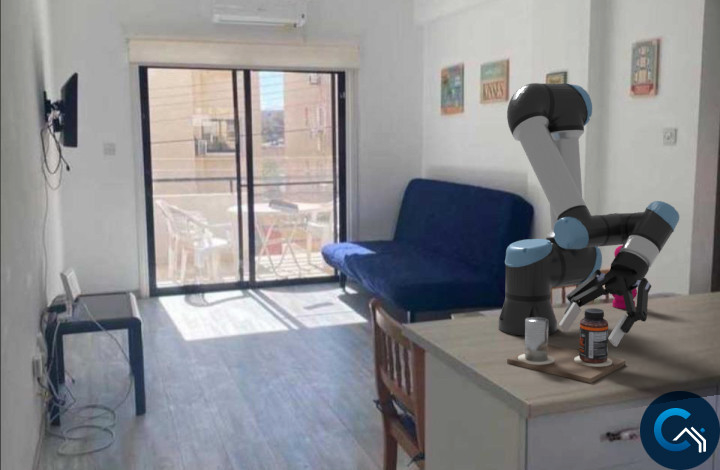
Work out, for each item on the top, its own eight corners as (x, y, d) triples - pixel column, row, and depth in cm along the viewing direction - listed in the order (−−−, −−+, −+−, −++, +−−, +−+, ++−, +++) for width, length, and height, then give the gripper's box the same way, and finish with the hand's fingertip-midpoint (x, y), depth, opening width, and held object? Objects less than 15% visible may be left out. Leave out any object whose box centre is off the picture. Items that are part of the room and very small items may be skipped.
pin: (520, 359, 157) (520, 320, 155) (532, 354, 160) (532, 316, 159) (540, 364, 153) (540, 324, 152) (552, 358, 157) (552, 319, 155)
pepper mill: (638, 309, 204) (640, 241, 201) (612, 309, 205) (614, 241, 202) (634, 304, 211) (636, 238, 208) (609, 303, 212) (610, 238, 209)
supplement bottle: (575, 356, 158) (576, 307, 156) (602, 355, 157) (603, 306, 156) (583, 364, 152) (584, 313, 150) (611, 364, 151) (612, 313, 150)
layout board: (507, 362, 157) (507, 357, 157) (544, 347, 169) (544, 342, 168) (590, 383, 143) (590, 377, 143) (624, 364, 155) (625, 359, 154)
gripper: (691, 279, 149) (643, 359, 144) (597, 263, 170) (552, 332, 165) (676, 257, 146) (626, 338, 140) (582, 243, 167) (536, 313, 161)
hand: (586, 335), depth 152 cm, fingers open, 13 cm apart
